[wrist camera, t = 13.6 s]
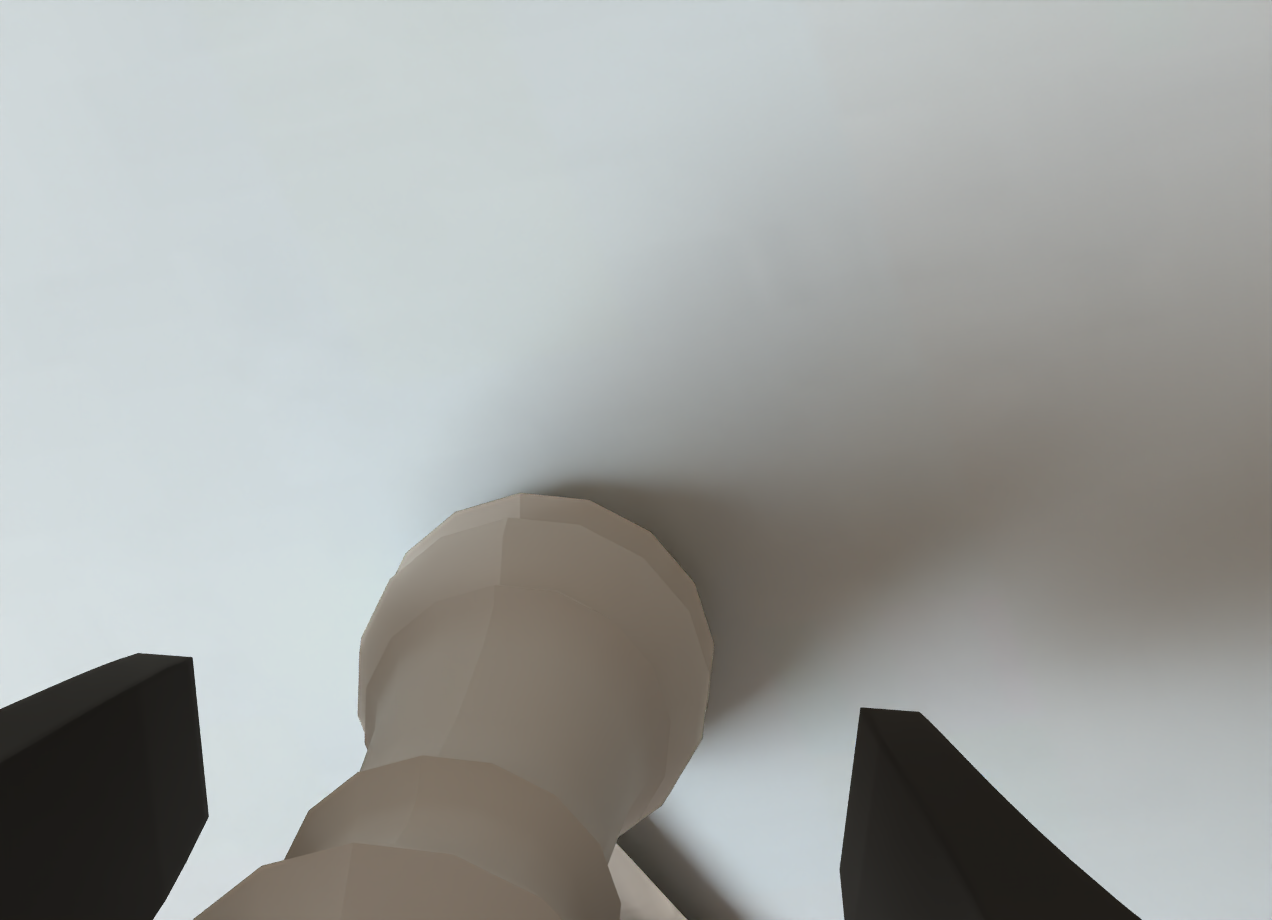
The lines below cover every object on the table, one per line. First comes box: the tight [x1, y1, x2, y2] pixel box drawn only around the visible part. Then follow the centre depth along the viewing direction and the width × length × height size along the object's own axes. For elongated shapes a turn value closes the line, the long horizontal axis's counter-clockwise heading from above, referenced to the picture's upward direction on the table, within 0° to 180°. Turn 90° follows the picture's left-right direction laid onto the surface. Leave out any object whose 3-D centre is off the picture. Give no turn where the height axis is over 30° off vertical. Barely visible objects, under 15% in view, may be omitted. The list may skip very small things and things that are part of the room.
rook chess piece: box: [193, 493, 714, 920], centre depth 10 cm, size 4×4×8 cm
